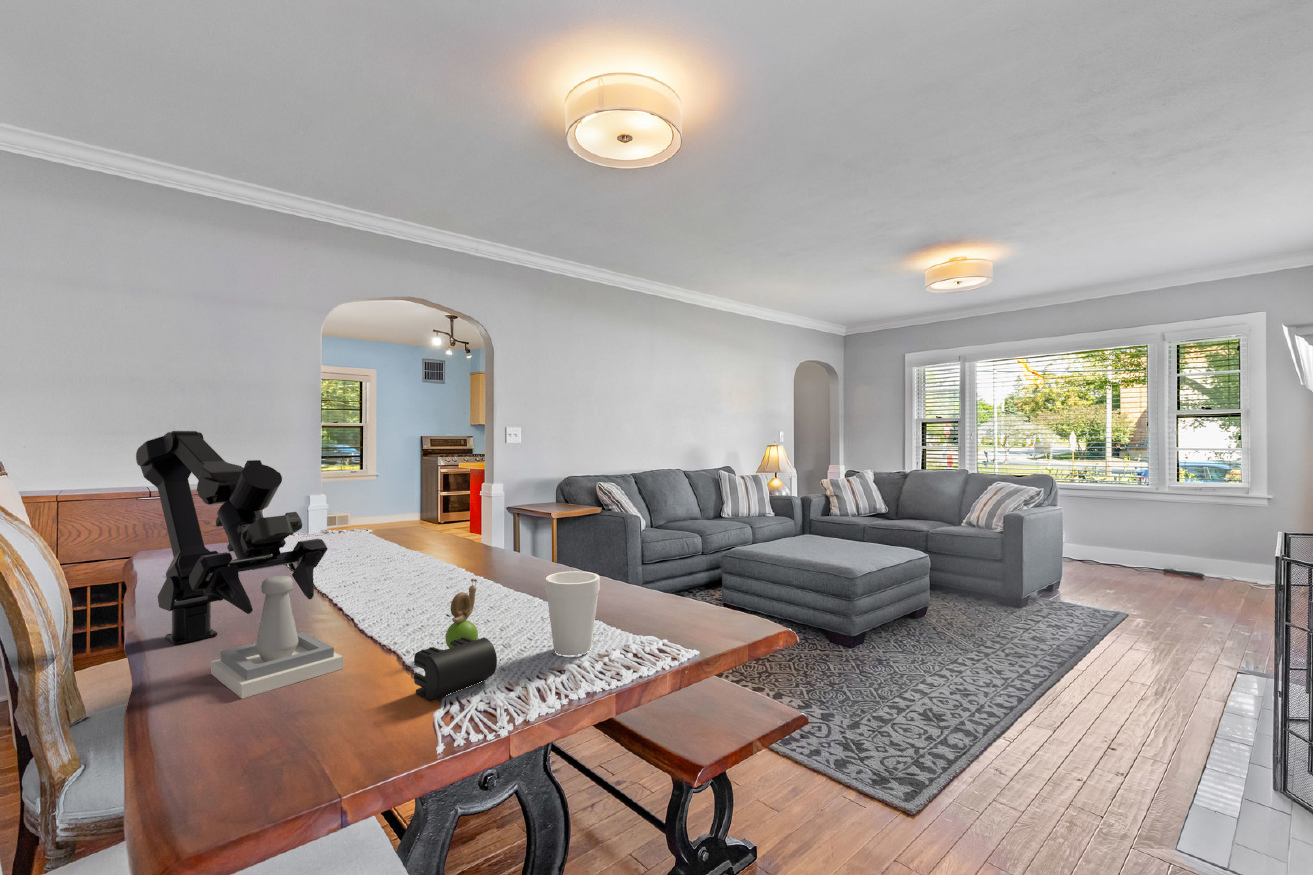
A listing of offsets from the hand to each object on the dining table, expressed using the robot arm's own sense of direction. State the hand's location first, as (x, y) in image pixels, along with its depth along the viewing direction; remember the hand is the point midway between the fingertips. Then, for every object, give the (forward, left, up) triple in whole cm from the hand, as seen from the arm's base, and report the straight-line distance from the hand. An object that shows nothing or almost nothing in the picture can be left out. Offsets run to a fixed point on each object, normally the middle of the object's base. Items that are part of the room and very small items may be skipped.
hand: (282, 604), depth 94 cm
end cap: (+27, +14, -11) cm, 32 cm away
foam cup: (+29, +36, -11) cm, 47 cm away
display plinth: (-1, 0, -11) cm, 11 cm away
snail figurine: (+14, +24, -11) cm, 30 cm away
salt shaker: (-2, 0, -9) cm, 9 cm away
